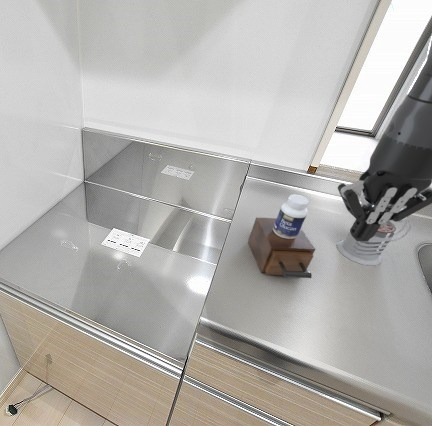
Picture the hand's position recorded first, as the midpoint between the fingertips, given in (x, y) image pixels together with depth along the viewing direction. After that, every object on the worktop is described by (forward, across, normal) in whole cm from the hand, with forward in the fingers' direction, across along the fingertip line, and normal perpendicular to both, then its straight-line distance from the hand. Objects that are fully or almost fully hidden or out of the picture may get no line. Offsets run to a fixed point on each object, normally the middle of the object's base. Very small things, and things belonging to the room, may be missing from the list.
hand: (358, 237), depth 48 cm
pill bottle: (+14, 0, +19) cm, 24 cm away
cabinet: (+23, 0, +19) cm, 30 cm away
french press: (+23, +24, +22) cm, 40 cm away
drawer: (+22, 0, +15) cm, 27 cm away
